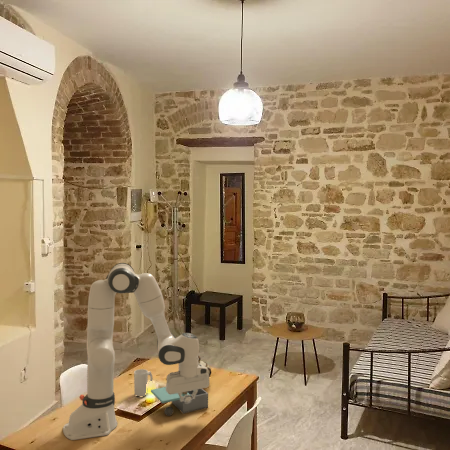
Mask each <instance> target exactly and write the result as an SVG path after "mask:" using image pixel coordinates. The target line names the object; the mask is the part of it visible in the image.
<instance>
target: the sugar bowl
mask: <svg viewBox="0 0 450 450" xmlns="http://www.w3.org/2000/svg"><path fill="white" fill-rule="evenodd" d="M198 362H199V364H202V365H204V366H205V367H207V368H208V374H209V378H210V377H211V375H212V368H211V367H210V365H209V364H208V363H207V362H206V361H203V360H201V356H200V355H198Z"/></svg>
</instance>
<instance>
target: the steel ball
mask: <svg viewBox="0 0 450 450" xmlns="http://www.w3.org/2000/svg"><path fill="white" fill-rule="evenodd" d="M191 401H192V397H191V396H190V395H188V394H187V395H185V396H184V401H183V402H184V403H185V404H189V403H191Z"/></svg>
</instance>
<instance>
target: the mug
mask: <svg viewBox="0 0 450 450" xmlns="http://www.w3.org/2000/svg"><path fill="white" fill-rule="evenodd" d="M148 377H149V378H148ZM133 378H134V379H133V380H134V381H133V384H134V386H133V389H134V391H133V393H134V396H135V395H137V396H145V393H146V384H147V382H148V380H149V379H150V380H149V382H150V381H152V382H153V378H154V377H153V374H152V372H151V371H148V370H147V369H145V368H144V369H143V368H141V369H135V370H134V371H133ZM149 382H148V383H149ZM145 397H146V396H145Z"/></svg>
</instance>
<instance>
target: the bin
mask: <svg viewBox="0 0 450 450" xmlns="http://www.w3.org/2000/svg"><path fill="white" fill-rule="evenodd" d="M187 392H188V393H189V394H190V395H191V394H192V393H193V390H192V391H187ZM171 403H172V404H173V405H174V406H175V407H176V409H178V411H180V412H181V413H182V414H183V415H184V414H188V413H191V412H195V411H200V410H203V409H208V408H209V393H208V392H207V391H206V390H204V388H202V389H198V392H197V394H196V395H195V399H192V401H191V403H189V404H185V403H184V402H183V401H182V402H181V401H180V400H176V401H171Z"/></svg>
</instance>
